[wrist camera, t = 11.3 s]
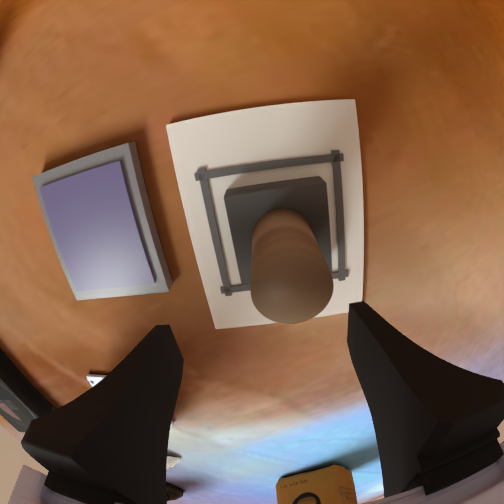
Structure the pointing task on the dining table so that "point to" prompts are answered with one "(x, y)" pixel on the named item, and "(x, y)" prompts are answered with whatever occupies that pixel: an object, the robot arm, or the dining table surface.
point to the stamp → (283, 246)
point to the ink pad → (104, 225)
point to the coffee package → (318, 487)
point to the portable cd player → (19, 397)
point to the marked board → (264, 171)
